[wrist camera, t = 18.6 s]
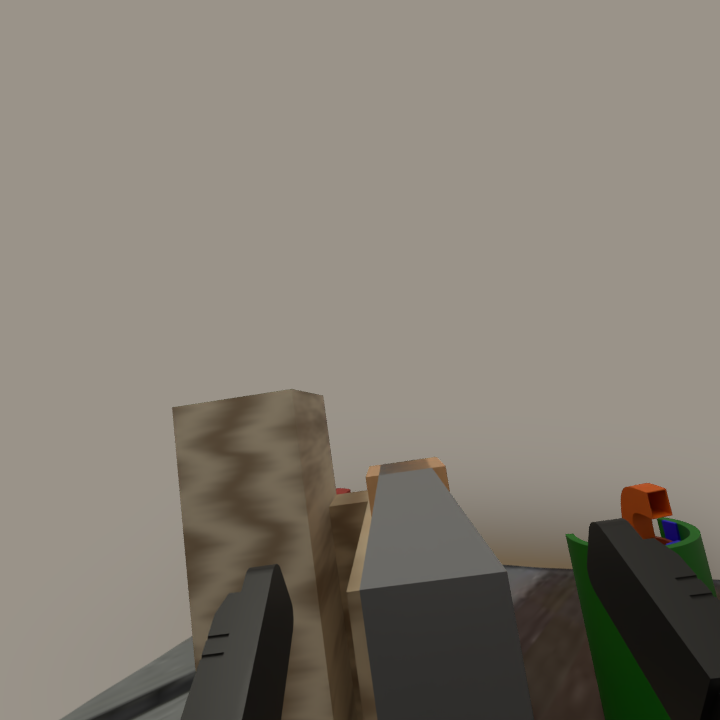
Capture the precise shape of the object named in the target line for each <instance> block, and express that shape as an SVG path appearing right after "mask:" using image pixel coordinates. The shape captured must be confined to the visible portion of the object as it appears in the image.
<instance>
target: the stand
mask: <svg viewBox="0 0 720 720" xmlns="http://www.w3.org/2000/svg"><path fill="white" fill-rule="evenodd" d="M172 410H173V421H174V433H175V443H176V455H177V466H178V477H179V488H180V500H181V511H182V522H183V534H184V545H185V556H186V567H187V578H188V590H189V599H190V600H189V601H190V612H191V623H192V635H193V646H194V657H195V668H196V670H197V667H198V664H199V661H200V660H201V658H202V652H203V649H204V646H205V642H206V641H207V640H208V633H209V630H210V627H211V624H212V621H213V618H214V615H215V613H216V611H217V610H218V608H219V607H220V605H221V604H222V602H223V601H224V600H225V598H226V597H227V595H228V594H229V593H234V592H241V590H242V586H243V582H244V579H245V575H246V572H247V570H248V569H249V568H250V567H257V566H265V565H272V564H278V565H279V566H280V568H281V571H282V574H283V577H284V580H285V583H286V586H287V590H288V593H289V596H290V599H291V602H292V606H293V616H294V625H293V635H292V642H291V650H290V657H289V665H288V672H287V680H286V687H285V695H284V702H283V709H282V717H281V720H377V713H376V706H375V698H374V691H373V684H372V677H371V670H370V662H369V655H368V648H367V641H366V634H365V627H364V619H363V612H362V605H361V598H360V591H359V590H360V584H361V578H362V572H363V566H364V560H365V554H366V548H367V542H368V536H369V531H370V525H371V519H372V517H371V510H370V503H369V497H368V490H367V491H360V492H352V493H345V494H338V495H337V494H336V486H335V479H334V472H333V465H332V457H331V450H330V443H329V435H328V428H327V420H326V413H325V406H324V399H323V396H322V395H317V394H312V393H308V392H302V391H298V390H294V389H290V390H283V391H276V392H270V393H263V394H257V395H250V396H243V397H237V398H231V399H224V400H217V401H211V402H204V403H198V404H191V405H185V406H178V407H173V408H172Z"/></svg>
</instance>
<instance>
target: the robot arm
mask: <svg viewBox="0 0 720 720" xmlns="http://www.w3.org/2000/svg"><path fill="white" fill-rule="evenodd" d="M587 571H588V576H589V579H590V582H591V585H592V587H593V589H594V591H595V593H596V595H597V596H598V598H599V600H600V601H601V603H602V605H603V607H604V608H605V610H606V612H607V613H608V615H609V617H610V618H611V620H612V622H613V623H614V625H615V627H616V628H617V630H618V632H619V633H620V635H621V637H622V638H623V640H624V642H625V643H626V645H627V647H628V648H629V650H630V652H631V653H632V655H633V657H634V658H635V660H636V662H637V663H638V665H639V667H640V668H641V670H642V672H643V673H644V675H645V677H646V678H647V680H648V682H649V683H650V685H651V687H652V688H653V690H654V692H655V694H656V695H657V697H658V699H659V700H660V702H661V704H662V705H663V707H664V709H665V710H666V712H667V714H668V715H669V717H670V719H671V720H720V601H719V600H718V599H717V597H714V596H713V595H712V592H711V591H710V590H709V588H708V587H707V586H706V585H705V584H704V583H703V582H702V580H701V579H698V578H697V575H696V574H695V573H694V571H693V570H692V569H691V568H690V567H689V566H688V565H687V564H686V562H685V561H684V560H683V559H682V558H681V557H680V556H679V555H678V554H677V553H676V552H674V551H673V550H671V549H670V548H668V547H667V546H665V545H664V544H662V543H661V542H659V541H658V540H656V539H655V538H650V539H642V537H641V536H640V535H639V534H638V532H637V531H636V530H635V529H634V528H633V526H632V525H631V524H630V523H629V522H628V521H627V520H625V519H623V518H620V519H613V520H606V521H598V522H592V523H591V524H590V526H589V537H588V553H587ZM293 625H294V616H293V606H292V602H291V599H290V596H289V593H288V590H287V586H286V583H285V580H284V577H283V574H282V571H281V568H280V566H279V565H278V564H272V565H265V566H257V567H250V568H249V569H248V570H247V572H246V575H245V579H244V582H243V586H242V590H241V592H234V593H229V594H228V595H227V597H226V598H225V600H224V601H223V602H222V604H221V605H220V607H219V608H218V610H217V611H216V613H215V615H214V618H213V621H212V624H211V627H210V630H209V633H208V640H207V641H206V642H205V646H204V649H203V652H202V658H201V660H200V661H199V664H198V667H197V670H196V673H195V677H194V680H193V683H192V686H191V689H190V692H189V695H188V698H187V701H186V704H185V708H184V711H183V714H182V717H181V720H281V717H282V709H283V702H284V695H285V687H286V680H287V672H288V665H289V657H290V650H291V642H292V635H293Z"/></svg>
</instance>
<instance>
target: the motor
mask: <svg viewBox="0 0 720 720" xmlns="http://www.w3.org/2000/svg"><path fill="white" fill-rule="evenodd" d="M621 513H622V518H623V519H625V520H627V521H628V522H629V523H630V524H631V525H632V526H633V528H634V529H635V530H636V531H637V532H638V534H639V535H640V536H641V537H642V539H650V538H655V539H656V540H658V541H659V542H661V543H662V544H664V545H665V546H667V547H668V548H670V549H671V550H673V551H674V552H676V553H677V554H678V555H679V556H680V557H681V558H682V559H683V560H684V561H685V562H686V564H687V565H688V566H689V567H690V568H691V569H692V570H693V571H694V573H695V574H696V575H697V578H698V579H701V580H702V582H703V583H704V584H705V585H706V586H707V587H708V588H709V590H710V591H711V592H712V595H713V596H714V597H717V596H716V592H715V588H714V584H713V580H712V577H711V573H710V569H709V565H708V561H707V557H706V553H705V550H704V545H703V542H702V538H701V534H700V531H699V530H698V529H697V528H696V527H695V526H693V525H691V524H689V523H686V522H683V521H679V520H675V519H669V518H664V517H666V516H671V515H672V511H671V507H670V503H669V499H668V495H667V491H666V489H665V488H662V487H659V486H657V485H654V484H650V483H644V484H639V485H634V486H629V487H625V488H624V489H623V490H622V493H621ZM657 518H658V519H657ZM652 519H657V521H658V525H659V529H660V533H661V537H657V536H655V534H654V529H653V524H652ZM566 539H567V543H568V548H569V553H570V557H571V562H572V567H573V571H574V576H575V581H576V585H577V590H578V595H579V599H580V604H581V609H582V613H583V618H584V623H585V627H586V632H587V637H588V641H589V646H590V651H591V655H592V660H593V665H594V669H595V674H596V679H597V683H598V688H599V693H600V698H601V702H602V707H603V712H604V716H605V720H671V719H670V717H669V715H668V714H667V712H666V710H665V709H664V707H663V705H662V704H661V702H660V700H659V699H658V697H657V695H656V694H655V692H654V690H653V688H652V687H651V685H650V683H649V682H648V680H647V678H646V677H645V675H644V673H643V672H642V670H641V668H640V667H639V665H638V663H637V662H636V660H635V658H634V657H633V655H632V653H631V652H630V650H629V648H628V647H627V645H626V643H625V642H624V640H623V638H622V637H621V635H620V633H619V632H618V630H617V628H616V627H615V625H614V623H613V622H612V620H611V618H610V617H609V615H608V613H607V612H606V610H605V608H604V607H603V605H602V603H601V601H600V600H599V598H598V596H597V595H596V593H595V591H594V589H593V587H592V585H591V582H590V579H589V576H588V571H587V553H588V542H585V541H583V540H581V539H579V538H577V537H576V536H575V535H574V534H566Z"/></svg>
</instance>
